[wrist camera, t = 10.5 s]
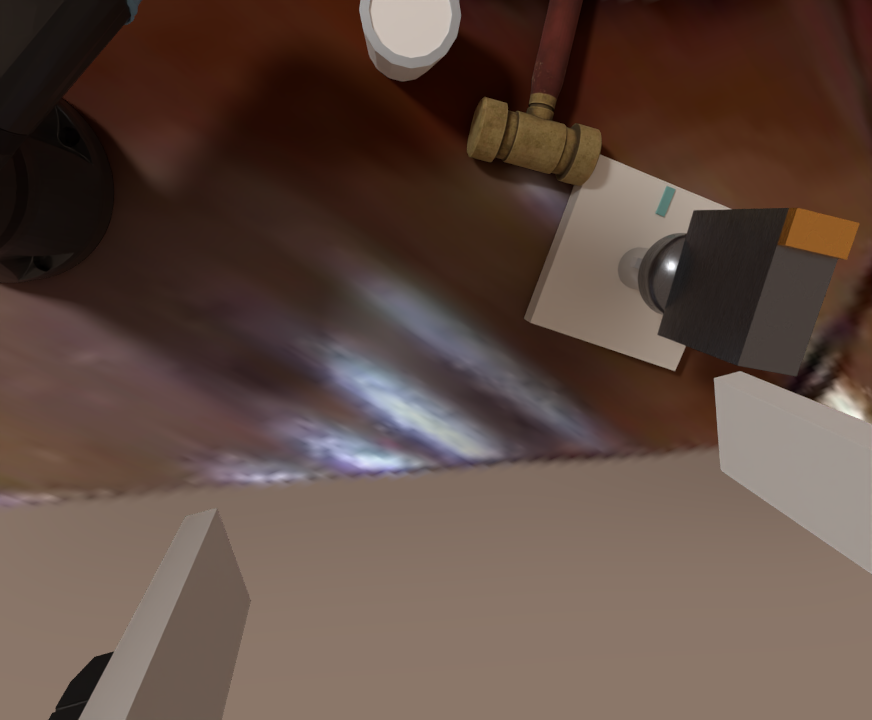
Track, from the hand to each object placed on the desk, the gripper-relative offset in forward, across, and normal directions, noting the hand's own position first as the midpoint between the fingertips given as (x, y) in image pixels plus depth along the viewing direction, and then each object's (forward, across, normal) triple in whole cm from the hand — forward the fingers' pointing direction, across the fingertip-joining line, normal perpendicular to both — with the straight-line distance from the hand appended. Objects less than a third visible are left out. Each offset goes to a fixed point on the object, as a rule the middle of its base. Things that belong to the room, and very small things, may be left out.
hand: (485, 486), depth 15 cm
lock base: (+36, -22, +3) cm, 42 cm away
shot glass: (+37, -6, -19) cm, 42 cm away
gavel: (+37, -18, -17) cm, 44 cm away
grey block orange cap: (+28, -22, +2) cm, 35 cm away
